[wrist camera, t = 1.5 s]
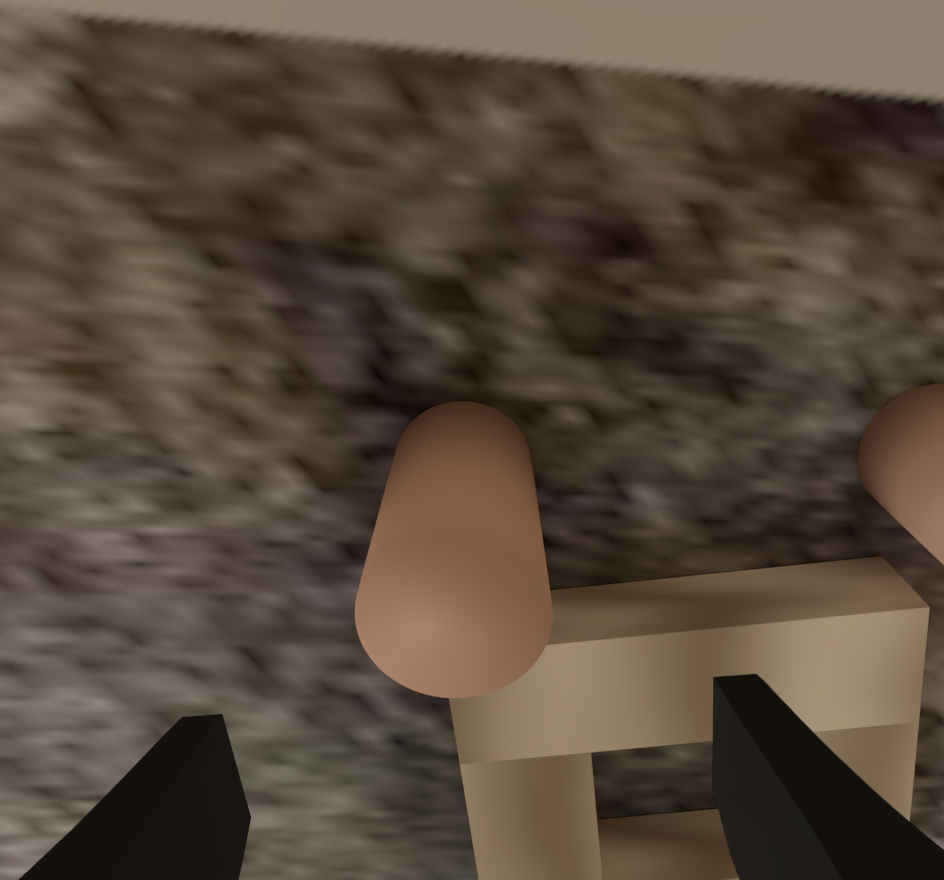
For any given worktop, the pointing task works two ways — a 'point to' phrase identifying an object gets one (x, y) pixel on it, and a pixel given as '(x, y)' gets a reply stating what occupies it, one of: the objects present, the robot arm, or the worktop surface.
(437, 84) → the worktop surface
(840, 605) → the collar block
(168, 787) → the robot arm
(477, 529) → the long pin
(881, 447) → the short stub
